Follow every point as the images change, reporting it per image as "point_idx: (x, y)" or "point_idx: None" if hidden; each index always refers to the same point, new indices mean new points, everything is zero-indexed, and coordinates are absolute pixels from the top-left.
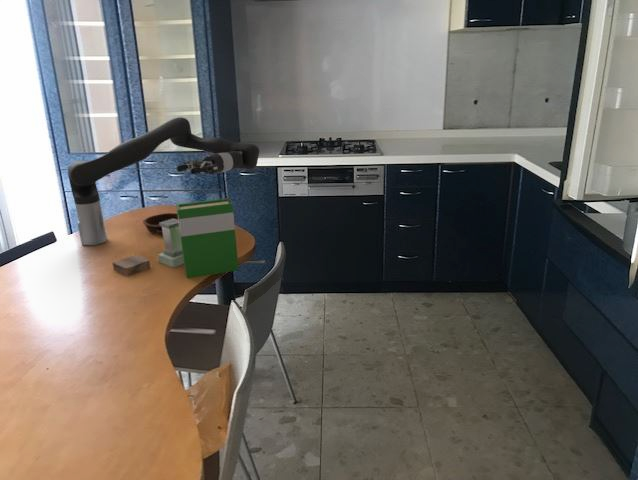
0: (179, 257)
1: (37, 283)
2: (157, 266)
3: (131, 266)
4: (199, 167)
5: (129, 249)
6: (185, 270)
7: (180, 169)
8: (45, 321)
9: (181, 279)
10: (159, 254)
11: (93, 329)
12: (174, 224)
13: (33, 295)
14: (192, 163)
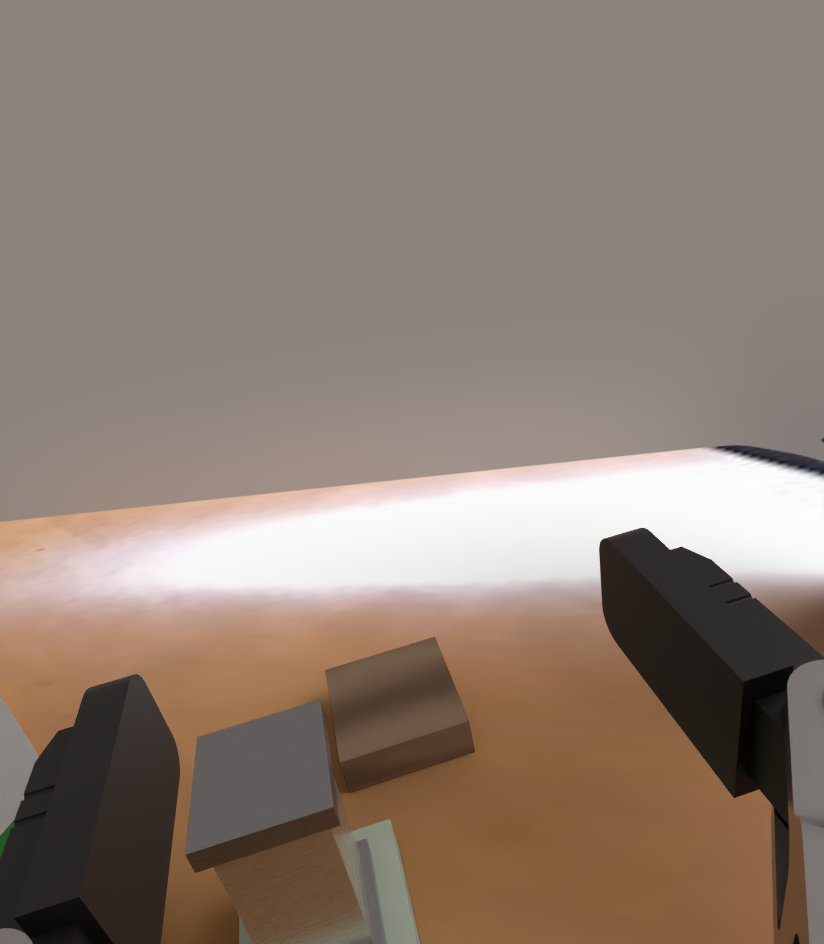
0: (240, 923)
1: (486, 509)
2: None
3: (329, 688)
4: (26, 921)
5: None
6: None
7: (634, 635)
8: (229, 536)
9: None
10: (379, 826)
11: (84, 603)
12: (194, 779)
13: (404, 509)
14: (801, 892)
